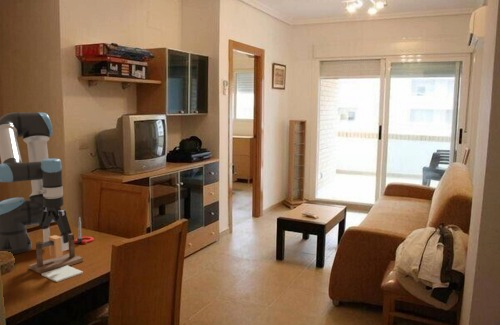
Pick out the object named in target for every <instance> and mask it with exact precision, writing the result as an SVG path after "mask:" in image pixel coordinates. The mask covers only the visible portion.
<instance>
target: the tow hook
mask: <svg viewBox="0 0 500 325" xmlns="http://www.w3.org/2000/svg"><path fill="white" fill-rule="evenodd" d="M77 222H78V226H77V227H78V228H77V229H78V233H77V236H78V237H77V238H76V239H75V238H74V244H80V245H86V244H87V243H91V242H93V241H95V238H94V237H92V236H82V221H81V216H79V217H78V221H77Z"/></svg>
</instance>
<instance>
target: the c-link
mask: <svg viewBox="0 0 500 325" xmlns="http://www.w3.org/2000/svg"><path fill="white" fill-rule="evenodd" d="M50 240H51V241H54V245H51V246H48V247H49V248H48V250H49V251H48V252H49V256H52V257H53V256H54V257H55V258H58V257H61V256H63V255H64V251H61V236H59V235H56V234H54V235H50V237H49V241H50Z"/></svg>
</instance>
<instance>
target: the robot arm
mask: <svg viewBox="0 0 500 325" xmlns="http://www.w3.org/2000/svg"><path fill="white" fill-rule="evenodd" d="M53 134H54V131H53V124H52V121H51V118H50V116H49V114H48V113H46V112H39V111H37V112H8V113H6V114H4V115H2V116H1V117H0V161H1V162H0V183H13V182H14V183H16V182H23V181H31V183H30V184H31V194H30V195H29V196H28V199H27V200H26V199H25V198H24V197H21V196H19V197H11V198H7V199H4V200H1V201H0V251H8V252H11V253H13V255H18V254H22V253H25V252H28V251H30V250H31V249H32V248H33V245H32V244H33V243H32V240H31V237H30V236H29V234H28V231H27V229H28V228H27V226H33V225H34V226H35V225H39V227H41V229H42V238H43V239H42V240H43V242H47V241H49V237H50V236H51V227H50V225H51V223H56V225H57V227H58V229H59V231H60V233H61V234H60V237H61V251H63V252H64V251H67V250H68V251H69V241H68V234H71V233H72V234H73V232H72V229H71V226H70V223H69V220H68V217H67V211H66V209H63V210H62V206H64V196H63V195H64V189H63V188H64V185H63V165H62V160H61V159H60V158H49V151H48V142H49V141H50V137H52V136H53ZM17 138H22V140H23V142H25V144H27V153H28V154H27V155H28V162H27V161H26V162H23V161H22V155H21V151H20V147H19V143H18V140H17ZM43 242H42V243H43Z"/></svg>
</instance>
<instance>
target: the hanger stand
mask: <svg viewBox="0 0 500 325" xmlns="http://www.w3.org/2000/svg"><path fill="white" fill-rule="evenodd" d="M74 240H75V234H74V233H73V232H72V233H71V234H68V247H69V250H68V253H65V254H63V256H61V257H58V258H55V256H54V257H51V258H47V259H45V260H44V258H43V256H44V255H43V248H47V247H49V246H51V245H54V241H51V240H50V241H47V242H41V241H37V242H35V251H36V262H35V263H32V264H28V268H29V269H30V270H31V271H34V272H36V273H38V274H41V275H42V273H45V272H48V271H51V270H55V269H58V268H61V267H64V266H67V265H68V266H70V267H71V266H72V265H76V264H79V263H81V262H84V257H81V256H79V255H77V254H75V253H76V251H75V243H74Z"/></svg>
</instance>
